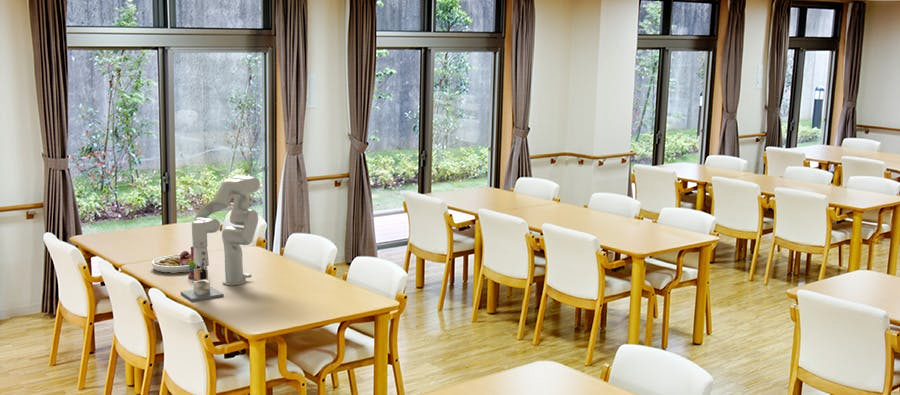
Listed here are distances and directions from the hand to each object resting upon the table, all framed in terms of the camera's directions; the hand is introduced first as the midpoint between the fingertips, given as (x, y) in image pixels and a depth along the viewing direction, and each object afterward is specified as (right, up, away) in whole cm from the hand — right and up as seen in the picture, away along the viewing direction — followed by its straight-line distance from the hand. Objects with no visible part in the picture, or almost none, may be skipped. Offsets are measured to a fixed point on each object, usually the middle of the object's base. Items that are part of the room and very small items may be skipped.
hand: (201, 277), depth 489 cm
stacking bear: (-12, -3, +40) cm, 42 cm away
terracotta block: (0, -1, 0) cm, 1 cm away
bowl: (-29, 0, +60) cm, 66 cm away
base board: (0, -10, +2) cm, 10 cm away
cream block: (0, -8, +2) cm, 8 cm away
